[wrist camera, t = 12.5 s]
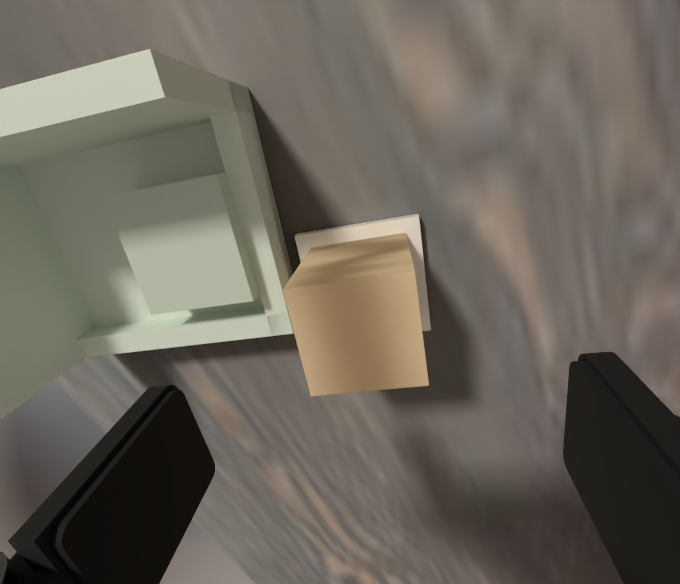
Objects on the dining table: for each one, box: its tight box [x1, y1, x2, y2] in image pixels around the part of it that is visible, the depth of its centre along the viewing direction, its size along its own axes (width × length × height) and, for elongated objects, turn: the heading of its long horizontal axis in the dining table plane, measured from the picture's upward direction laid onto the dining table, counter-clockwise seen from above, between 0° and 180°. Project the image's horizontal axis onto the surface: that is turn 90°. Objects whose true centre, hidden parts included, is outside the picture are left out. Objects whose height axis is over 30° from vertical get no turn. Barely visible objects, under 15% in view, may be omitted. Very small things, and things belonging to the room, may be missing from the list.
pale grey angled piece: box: [0, 49, 294, 419], centre depth 17 cm, size 14×12×8 cm
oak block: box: [283, 233, 429, 396], centre depth 17 cm, size 5×5×6 cm
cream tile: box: [295, 214, 431, 331], centre depth 20 cm, size 6×6×1 cm
